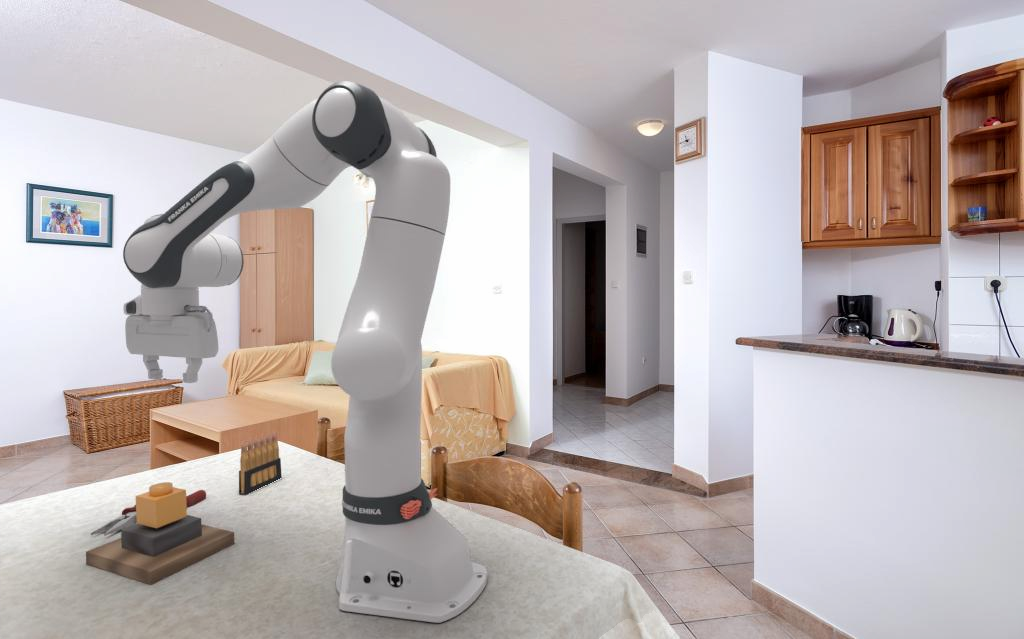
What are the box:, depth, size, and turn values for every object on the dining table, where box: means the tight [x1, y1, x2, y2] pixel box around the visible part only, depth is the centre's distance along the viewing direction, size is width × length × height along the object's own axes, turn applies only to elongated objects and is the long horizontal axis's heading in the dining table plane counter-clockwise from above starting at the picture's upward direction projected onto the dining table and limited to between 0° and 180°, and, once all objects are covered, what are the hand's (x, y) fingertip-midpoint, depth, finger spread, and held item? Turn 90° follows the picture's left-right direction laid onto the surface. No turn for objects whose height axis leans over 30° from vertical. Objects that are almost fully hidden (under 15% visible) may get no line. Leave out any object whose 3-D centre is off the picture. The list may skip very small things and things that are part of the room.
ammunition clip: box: [238, 428, 283, 496], centre depth 117 cm, size 11×2×12 cm, turn 161°
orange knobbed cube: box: [135, 481, 188, 528], centre depth 86 cm, size 5×5×6 cm
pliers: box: [90, 489, 207, 536], centre depth 102 cm, size 12×20×3 cm, turn 171°
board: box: [85, 514, 235, 585], centre depth 86 cm, size 16×14×10 cm
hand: (172, 380), depth 95 cm, fingers open, 8 cm apart
